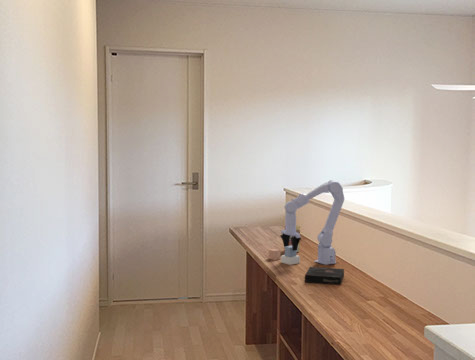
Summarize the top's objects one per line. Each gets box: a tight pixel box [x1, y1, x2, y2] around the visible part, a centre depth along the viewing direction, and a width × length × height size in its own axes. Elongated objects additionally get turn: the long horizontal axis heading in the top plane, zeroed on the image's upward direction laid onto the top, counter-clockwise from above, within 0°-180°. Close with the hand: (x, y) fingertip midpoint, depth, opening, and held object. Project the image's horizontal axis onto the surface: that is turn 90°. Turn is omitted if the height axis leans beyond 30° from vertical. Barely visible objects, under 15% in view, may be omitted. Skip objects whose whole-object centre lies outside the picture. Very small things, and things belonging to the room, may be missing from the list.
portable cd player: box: [304, 266, 345, 286], centre depth 268 cm, size 16×17×4 cm
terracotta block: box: [268, 248, 281, 261], centre depth 311 cm, size 4×4×5 cm
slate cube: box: [284, 245, 297, 257], centre depth 301 cm, size 4×4×5 cm
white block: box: [280, 254, 301, 266], centre depth 302 cm, size 7×7×4 cm
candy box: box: [289, 225, 301, 253], centre depth 330 cm, size 9×4×15 cm, turn 39°
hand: (290, 249), depth 301 cm, fingers open, 7 cm apart
